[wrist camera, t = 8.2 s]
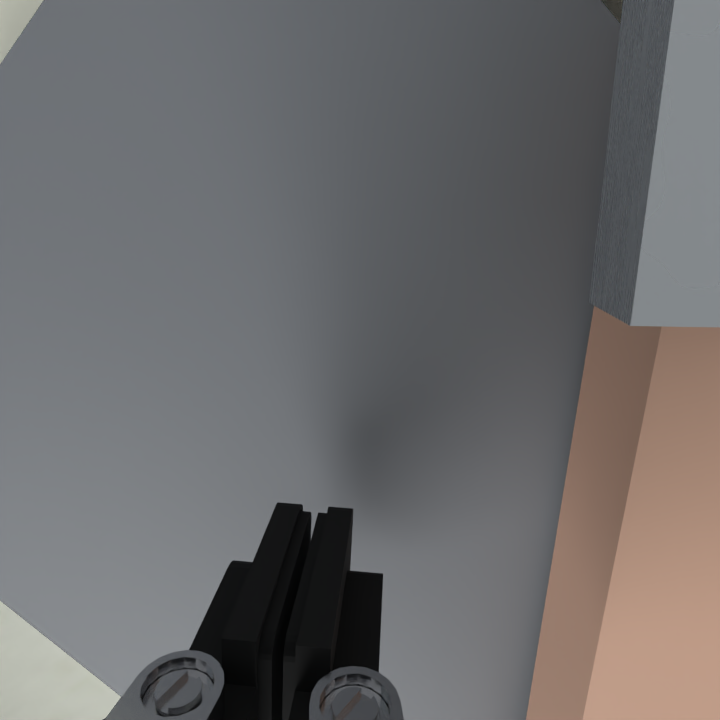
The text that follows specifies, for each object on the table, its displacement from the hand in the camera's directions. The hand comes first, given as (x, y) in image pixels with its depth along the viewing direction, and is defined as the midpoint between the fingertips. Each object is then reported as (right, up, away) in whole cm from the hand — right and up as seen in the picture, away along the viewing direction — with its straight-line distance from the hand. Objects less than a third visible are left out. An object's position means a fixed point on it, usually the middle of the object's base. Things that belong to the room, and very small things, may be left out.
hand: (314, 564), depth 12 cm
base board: (+3, +1, +3) cm, 4 cm away
